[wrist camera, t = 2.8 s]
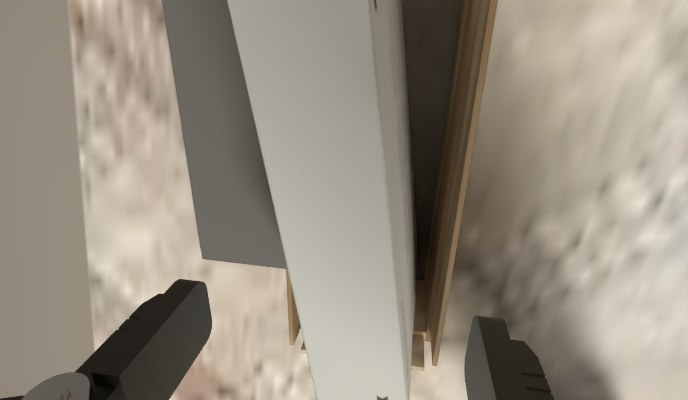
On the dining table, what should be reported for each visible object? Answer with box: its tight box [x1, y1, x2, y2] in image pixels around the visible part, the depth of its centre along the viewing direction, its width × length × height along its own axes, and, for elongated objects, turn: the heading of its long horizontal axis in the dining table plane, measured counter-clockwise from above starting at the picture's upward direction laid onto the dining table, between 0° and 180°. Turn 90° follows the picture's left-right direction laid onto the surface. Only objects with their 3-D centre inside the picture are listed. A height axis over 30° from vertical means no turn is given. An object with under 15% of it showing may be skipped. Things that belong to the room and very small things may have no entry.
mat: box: [163, 0, 286, 269], centre depth 31 cm, size 9×25×1 cm, turn 179°
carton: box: [286, 0, 498, 371], centre depth 25 cm, size 11×27×10 cm, turn 179°
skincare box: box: [227, 0, 418, 400], centre depth 22 cm, size 21×5×16 cm, turn 8°
